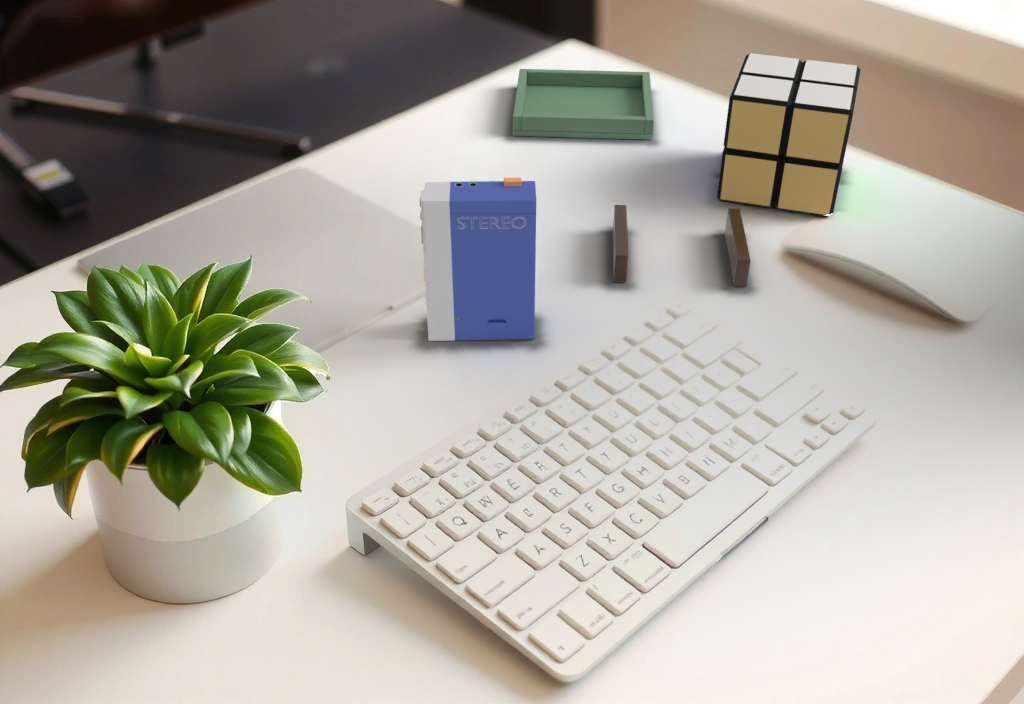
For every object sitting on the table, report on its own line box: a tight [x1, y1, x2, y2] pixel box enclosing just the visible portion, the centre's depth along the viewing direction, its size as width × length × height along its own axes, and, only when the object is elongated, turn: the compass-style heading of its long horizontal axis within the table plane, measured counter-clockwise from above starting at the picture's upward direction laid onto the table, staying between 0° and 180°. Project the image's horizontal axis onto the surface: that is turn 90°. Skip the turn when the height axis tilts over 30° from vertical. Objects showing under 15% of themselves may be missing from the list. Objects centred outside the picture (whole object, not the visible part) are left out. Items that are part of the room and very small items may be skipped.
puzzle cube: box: [716, 52, 862, 217], centre depth 95 cm, size 10×10×10 cm
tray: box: [512, 68, 655, 141], centre depth 109 cm, size 14×12×2 cm
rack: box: [612, 204, 751, 287], centre depth 87 cm, size 10×8×2 cm
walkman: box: [419, 177, 537, 342], centre depth 77 cm, size 8×3×12 cm, turn 91°
